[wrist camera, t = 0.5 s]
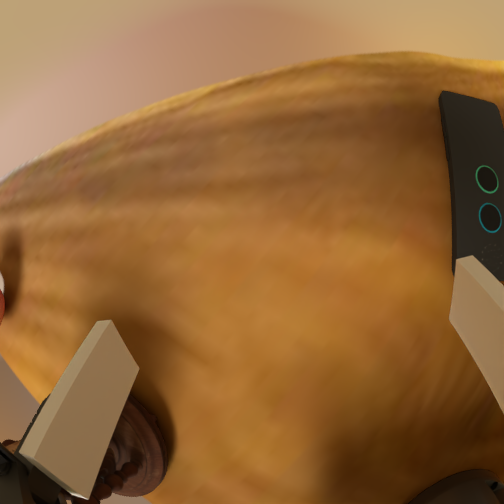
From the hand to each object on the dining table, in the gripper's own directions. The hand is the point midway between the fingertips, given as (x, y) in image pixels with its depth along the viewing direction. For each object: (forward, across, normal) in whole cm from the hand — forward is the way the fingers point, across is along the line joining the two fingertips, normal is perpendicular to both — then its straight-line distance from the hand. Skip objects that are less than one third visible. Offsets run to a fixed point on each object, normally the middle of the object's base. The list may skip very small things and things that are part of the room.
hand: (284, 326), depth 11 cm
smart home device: (+19, -21, +3) cm, 29 cm away
